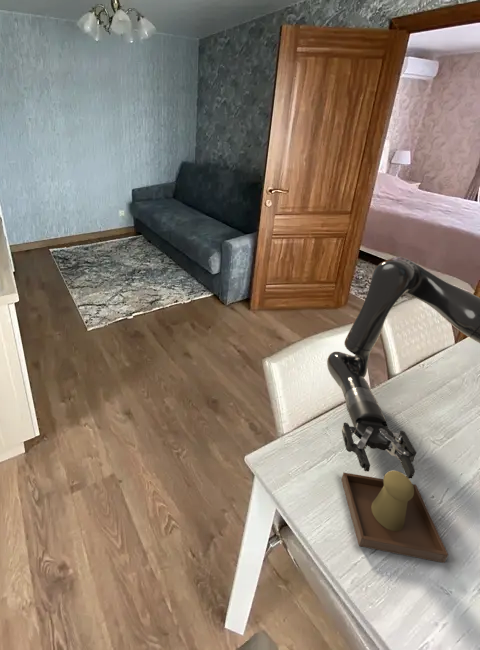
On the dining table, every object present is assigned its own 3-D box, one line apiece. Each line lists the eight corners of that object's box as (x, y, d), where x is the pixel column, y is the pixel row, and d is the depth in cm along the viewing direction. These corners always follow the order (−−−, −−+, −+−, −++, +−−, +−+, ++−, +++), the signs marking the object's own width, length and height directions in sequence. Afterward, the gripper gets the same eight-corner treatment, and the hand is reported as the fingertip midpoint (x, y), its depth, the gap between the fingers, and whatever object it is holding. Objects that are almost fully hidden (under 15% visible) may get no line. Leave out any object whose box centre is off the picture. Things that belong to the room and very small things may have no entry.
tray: (413, 491, 77) (416, 484, 76) (444, 563, 65) (448, 555, 64) (341, 479, 80) (343, 472, 79) (358, 546, 68) (361, 538, 67)
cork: (366, 512, 73) (378, 477, 69) (378, 493, 76) (390, 459, 72) (397, 538, 68) (412, 502, 64) (408, 516, 72) (423, 481, 68)
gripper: (337, 395, 88) (357, 454, 73) (398, 403, 85) (431, 466, 71) (332, 417, 90) (350, 478, 76) (390, 425, 88) (421, 490, 73)
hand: (389, 472), depth 73 cm, fingers open, 8 cm apart
